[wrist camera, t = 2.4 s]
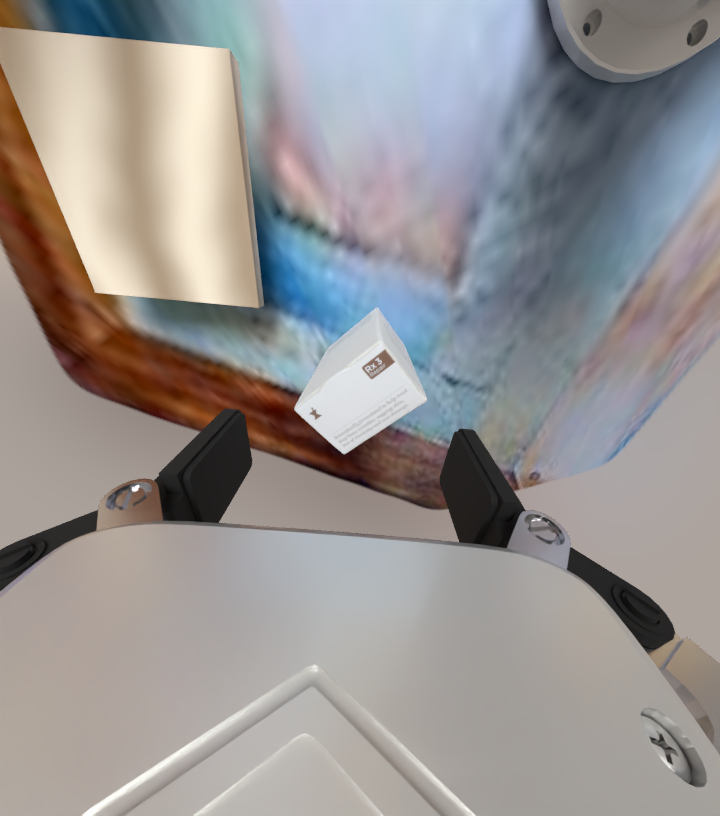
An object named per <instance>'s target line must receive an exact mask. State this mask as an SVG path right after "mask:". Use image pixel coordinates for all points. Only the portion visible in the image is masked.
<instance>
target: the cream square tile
mask: <svg viewBox="0 0 720 816" xmlns="http://www.w3.org/2000/svg"><path fill="white" fill-rule="evenodd" d="M0 63H1V66H2V68H3V71H4V73H5V75H6V78H7V80H8V83H9V85H10V88H11V90H12V92H13V95H14V97H15V100H16V102H17V104H18V107H19V109H20V112H21V114H22V116H23V119H24V121H25V124H26V126H27V129H28V131H29V133H30V136H31V138H32V141H33V143H34V145H35V148H36V150H37V153H38V155H39V157H40V160H41V162H42V165H43V167H44V169H45V172H46V174H47V177H48V179H49V182H50V184H51V186H52V189H53V191H54V194H55V196H56V198H57V201H58V203H59V206H60V208H61V210H62V213H63V215H64V218H65V220H66V223H67V225H68V227H69V230H70V232H71V235H72V237H73V239H74V242H75V244H76V247H77V249H78V251H79V254H80V256H81V259H82V261H83V263H84V266H85V268H86V271H87V273H88V276H89V278H90V280H91V283H92V285H93V288H94V290H95V292H96V293H105V294H116V295H127V296H137V297H148V298H158V299H169V300H180V301H190V302H201V303H211V304H222V305H233V306H243V307H254V308H260V307H262V306H264V300H263V291H262V281H261V272H260V262H259V253H258V243H257V234H256V224H255V215H254V205H253V196H252V187H251V177H250V168H249V158H248V149H247V139H246V130H245V120H244V111H243V101H242V92H241V82H240V73H239V63H238V61H237V60H236V58H235V57H234V56H233V54H232V53H231V51H230V50H229V49H223V48H213V47H203V46H192V45H182V44H171V43H161V42H150V41H140V40H130V39H119V38H109V37H98V36H88V35H78V34H67V33H57V32H46V31H36V30H26V29H15V28H5V27H0Z"/></svg>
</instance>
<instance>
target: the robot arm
mask: <svg viewBox="0 0 720 816" xmlns="http://www.w3.org/2000/svg"><path fill="white" fill-rule="evenodd" d="M547 2H548V6H549V10H550V15H551V19H552V23H553V28H554V30H555V32H556V34H557V36H558V39H559V41H560V43H561V45H562V47H563V50H564V51H565V52H566V54H567V55H568V56H569V57H570V58H571V60H572V61H573V62H574V63H575V65H576V66H577V67H578V68H580V69H581V70H583V71H584V72H586V73H587V74H589V75H590V76H592V77H594V78H597V79H600V80H604V81H608V82H612V83H620V82H636V81H639V80H643V79H646V78H649V77H653V76H656V75H659V74H661V73H663V72H665V71H667V70H669V69H671V68H673V67H675V66H677V65H679V64H681V63H682V62H684V61H686V60H687V59H689V58H690V57H692V56H693V55H695V54H696V53H698V52H699V51H701V50H702V49H704V48H706V47H707V46H709V45H710V44H712V43H713V42H715V41H716V40H717V39H718V38H720V0H547ZM583 30H584V32H583ZM584 33H585V35H584ZM251 466H252V457H251V451H250V444H249V438H248V432H247V426H246V420H245V415H244V414H243V413H241V412H240V410H236V409H224V410H223V411H222V412H221V413H220V414H219V415H218V416H217V417H215V418H214V419H213V420H212V421H211V422H210V423H209V424H208V425H207V426H206V427H205V428H204V429H203V430H202V431H201V432H200V433H199V434H198V435H197V436H196V437H195V438H194V439H193V440H192V441H191V442H190V443H189V444H188V445H187V446H186V447H185V448H184V449H183V450H182V451H181V452H180V453H179V454H178V455H177V456H176V457H175V458H174V459H173V460H172V461H171V462H170V463H169V464H168V465H167V466H166V467H165V468H164V469H163V470H162V471H161V472H160V473H159V476H158V477H157V478H156V479H155V480H154V481H153V480H151V479H137V480H133V481H129V482H126V483H124V484H121V485H119V486H117V487H116V488H114V489H112V490H111V491H110V492H108V493H107V494H106V495H105V496H104V497H103V498H102V500H101V501H100V504H99V507H98V510H97V511H94V512H91V513H89V514H86V515H84V516H81V517H79V518H76V519H73V520H71V521H69V522H66V523H63V524H61V525H58V526H56V527H53V528H51V529H48V530H45V531H43V532H40V533H38V534H35V535H32V536H30V537H27V538H25V539H22V540H20V541H17V542H15V543H13V544H11V545H9V546H6V547H5V548H3V549H1V550H0V816H720V664H719V663H718V662H717V661H716V660H715V659H713V658H712V657H711V656H710V655H709V654H707V653H706V652H705V651H704V650H702V649H701V648H700V647H699V646H698V645H696V644H695V643H694V642H693V641H691V640H690V639H689V638H688V637H686V638H684V639H681V638H680V637H679V636H678V635H677V634H675V631H674V628H673V625H672V623H671V621H670V620H669V618H668V617H667V615H666V614H665V612H664V611H663V610H662V609H661V608H660V607H659V605H657V604H656V603H655V602H654V601H653V600H652V599H651V598H650V597H649V596H647V595H646V594H644V593H643V592H642V591H640V590H639V589H637V588H636V587H634V586H632V585H631V584H629V583H628V582H626V581H624V580H623V579H621V578H619V577H618V576H616V575H615V574H613V573H612V572H609V571H608V570H607V569H605V568H603V567H602V566H600V565H598V564H597V563H595V562H594V561H592V560H591V559H589V558H587V557H586V556H584V555H583V554H581V553H579V552H578V551H576V550H575V549H573V548H571V547H570V545H571V542H570V537H569V535H568V533H567V532H566V530H565V529H564V528H563V527H562V526H561V525H560V524H559V523H558V522H557V521H555V520H554V519H552V518H551V517H549V516H548V515H546V514H543V513H541V512H537V511H534V510H525V509H524V507H523V506H522V504H521V502H520V501H519V499H518V498H517V496H516V494H515V493H514V491H513V490H512V488H511V486H510V485H509V483H508V482H507V480H506V479H505V477H504V476H503V474H502V473H501V471H500V469H499V468H498V466H497V465H496V463H495V462H494V460H493V459H492V457H491V455H490V454H489V452H488V451H487V449H486V448H485V446H484V445H483V443H482V442H481V440H480V438H479V437H478V435H477V434H476V432H475V431H474V430H468V429H459V430H458V432H455V433H454V435H453V438H452V441H451V444H450V447H449V450H448V453H447V456H446V459H445V462H444V466H443V469H442V472H441V475H440V485H441V488H442V491H443V494H444V497H445V500H446V503H447V506H448V509H449V512H450V515H451V518H452V521H453V524H454V527H455V530H456V533H457V536H458V539H459V542H450V541H441V540H429V539H418V538H405V537H394V536H383V535H370V534H358V533H346V532H334V531H321V530H308V529H295V528H281V527H268V526H255V525H241V524H227V523H219V521H220V519H221V518H222V516H223V514H224V513H225V511H226V509H227V507H228V506H229V504H230V502H231V501H232V499H233V497H234V495H235V494H236V492H237V491H238V488H239V487H240V485H241V484H242V482H243V480H244V479H245V477H246V475H247V473H248V472H249V470H250V468H251Z"/></svg>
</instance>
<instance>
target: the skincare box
mask: <svg viewBox="0 0 720 816" xmlns="http://www.w3.org/2000/svg"><path fill="white" fill-rule="evenodd" d="M426 401H427V397H426V395H425V392H424V390H423V387H422V385H421V383H420V381H419V378H418V376H417V374H416V371H415V369H414V367H413V364H412V362H411V360H410V357H409V355H408V352H407V350H406V348H405V345H404V343H403V342H402V341H401V339H400V338H399V337H398V335H397V334H396V333H395V331H394V330H393V328H392V327H391V326H390V324H389V323H388V321H387V320H386V318H385V317H384V316H383V314H382V313H381V311H380V310H379V309H378V308H375V309H374V310H372V311H371V312H370V313H369V314H368V315H366V316H365V317H364V318H363V319H362V320H360V321H359V322H358V323H357V324H356V325H354V326H353V327H352V328H351V329H350V330H349V331H347V332H346V333H345V334H344V335H343V336H341V337H340V338H339V339H338V340H337V341H335V342H334V343H333V344H332V345H331V346H329V347H328V349H327V350H326V352H325V354H324V356H323V357H322V359H321V361H320V363H319V365H318V366H317V368H316V370H315V372H314V374H313V375H312V377H311V379H310V381H309V382H308V384H307V386H306V388H305V389H304V391H303V393H302V395H301V396H300V398H299V400H298V402H297V404H296V406H295V408H294V409H295V411H296V412H297V413H298V414H299V415H300V416H301V417H302V418H303V419H304V420H306V421H307V422H308V423H309V424H310V425H311V426H312V427H313V428H314V429H315V430H316V431H318V432H319V433H320V434H321V435H322V436H323V437H324V438H325V439H326V440H327V441H329V442H330V443H331V444H332V445H333V446H334V447H335V448H337V449H338V450H339V451H340V452H341V453H343V454H346V453H348V452H349V451H351V450H352V449H354V448H355V447H357V446H358V445H360V444H361V443H363V442H364V441H366V440H367V439H369V438H371V437H372V436H374V435H375V434H377V433H378V432H380V431H381V430H383V429H384V428H386V427H387V426H389V425H391V424H392V423H394V422H395V421H397V420H398V419H400V418H402V417H403V416H405V415H406V414H408V413H409V412H411V411H412V410H414V409H416V408H417V407H419V406H420V405H422V404H423V403H425V402H426Z"/></svg>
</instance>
